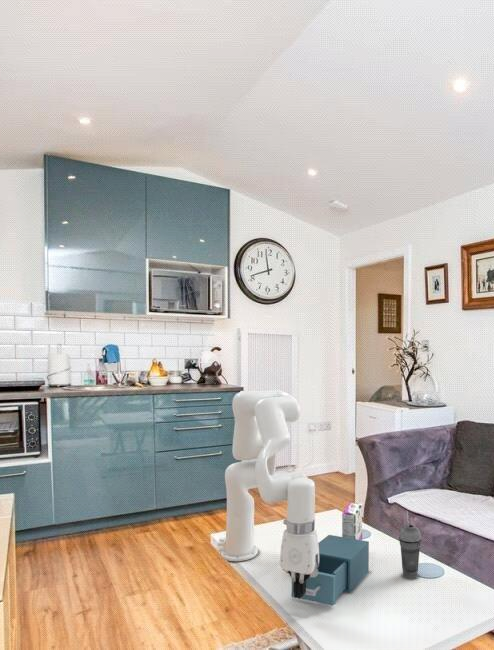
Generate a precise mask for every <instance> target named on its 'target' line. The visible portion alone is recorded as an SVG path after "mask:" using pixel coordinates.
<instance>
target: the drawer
mask: <svg viewBox="0 0 494 650" xmlns="http://www.w3.org/2000/svg"><path fill="white" fill-rule="evenodd" d="M318 573H319V574H318V575H317V576H316V577H309V578H308V579H307V580H306V593H305V594H304V595H303V596H302V597H301V598H300V600H301V599H302V600H306V601H309V602H314V603H317V604H321V605H322V604H323V605H327V606H332V607H334V606H335V604H336V599H338V597H339V596H340V595H341V594H342V593H343V592H344V590H345V589H346V587H347V586H348V562H347V561H342V560H337V559H332V558H326V557H321V556H319V567H318ZM291 597H292V598H294V582H293V581H292V580H291Z"/></svg>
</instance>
